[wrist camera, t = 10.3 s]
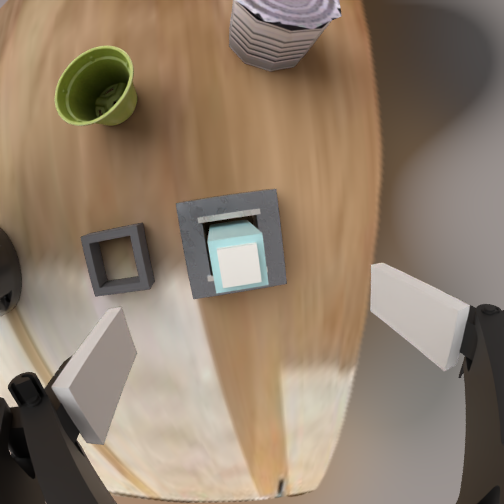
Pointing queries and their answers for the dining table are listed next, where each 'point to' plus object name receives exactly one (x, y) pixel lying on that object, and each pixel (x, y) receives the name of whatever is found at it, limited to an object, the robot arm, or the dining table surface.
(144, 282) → the holster
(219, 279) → the plug
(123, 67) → the plant pot
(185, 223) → the port block
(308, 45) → the can
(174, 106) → the dining table surface
